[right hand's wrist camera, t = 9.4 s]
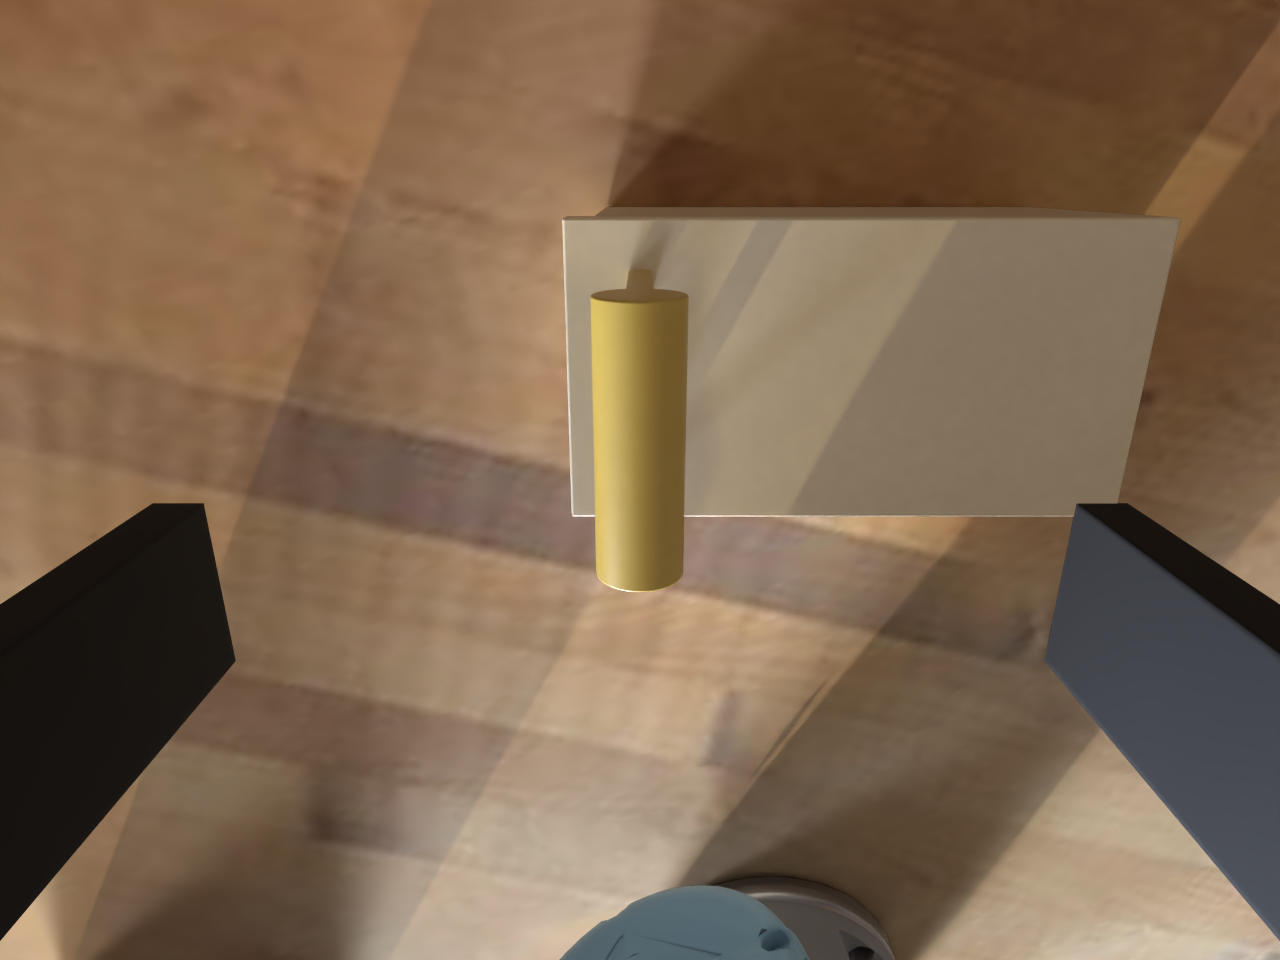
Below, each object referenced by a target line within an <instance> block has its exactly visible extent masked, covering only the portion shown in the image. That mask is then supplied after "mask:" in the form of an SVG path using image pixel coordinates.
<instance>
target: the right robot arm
mask: <svg viewBox="0 0 1280 960" xmlns="http://www.w3.org/2000/svg"><path fill="white" fill-rule="evenodd" d="M235 661H236V660H235V655H234V650H233V645H232V640H231V635H230V631H229V626H228V621H227V616H226V611H225V606H224V601H223V596H222V591H221V586H220V582H219V577H218V572H217V567H216V562H215V557H214V552H213V547H212V542H211V537H210V533H209V528H208V523H207V518H206V513H205V508H204V503H153V504H151V505H150V506H148V507H147V508H145V509H143V510H142V511H140V512H139V513H137V514H136V515H134V516H133V517H131V518H130V519H128V520H127V521H125V522H124V523H122V524H121V525H119V526H118V527H116V528H115V529H113V530H112V531H110V532H109V533H107V534H106V535H104V536H103V537H101V538H100V539H98V540H97V541H95V542H94V543H92V544H91V545H89V546H88V547H86V548H85V549H83V550H82V551H80V552H79V553H77V554H76V555H74V556H73V557H71V558H70V559H68V560H67V561H65V562H64V563H62V564H61V565H59V566H58V567H56V568H55V569H53V570H52V571H50V572H48V573H47V574H45V575H44V576H42V577H41V578H39V579H38V580H36V581H35V582H33V583H32V584H30V585H29V586H27V587H26V588H24V589H23V590H21V591H20V592H18V593H17V594H15V595H14V596H12V597H11V598H9V599H8V600H6V601H5V602H3V603H2V604H0V941H1V939H2V938H3V937H4V936H5V935H6V933H7V932H8V931H9V930H10V929H11V927H12V926H13V925H14V924H15V923H16V921H17V920H18V919H19V918H20V917H21V916H22V914H23V913H24V912H25V911H26V910H27V908H28V907H29V906H30V905H31V904H32V902H33V901H34V900H35V899H36V898H37V897H38V895H39V894H40V893H41V892H42V891H43V889H44V888H45V887H46V886H47V885H48V883H49V882H50V881H51V880H52V879H53V877H54V876H55V875H56V874H57V873H58V872H59V870H60V869H61V868H62V867H63V866H64V864H65V863H66V862H67V861H68V860H69V858H70V857H71V856H72V855H73V854H74V853H75V851H76V850H77V849H78V848H79V847H80V845H81V844H82V843H83V842H84V841H85V839H86V838H87V837H88V836H89V835H90V834H91V832H92V831H93V830H94V829H95V828H96V826H97V825H98V824H99V823H100V822H101V820H102V819H103V818H104V817H105V816H106V814H107V813H108V812H109V811H110V810H111V809H112V807H113V806H114V805H115V804H116V803H117V801H118V800H119V799H120V798H121V797H122V795H123V794H124V793H125V792H126V791H127V790H128V788H129V787H130V786H131V785H132V784H133V782H134V781H135V780H136V779H137V778H138V776H139V775H140V774H141V773H142V772H143V771H144V769H145V768H146V767H147V766H148V765H149V763H150V762H151V761H152V760H153V759H154V757H155V756H156V755H157V754H158V753H159V751H160V750H161V749H162V748H163V747H164V746H165V744H166V743H167V742H168V741H169V740H170V738H171V737H172V736H173V735H174V734H175V732H176V731H177V730H178V729H179V728H180V727H181V725H182V724H183V723H184V722H185V721H186V719H187V718H188V717H189V716H190V715H191V713H192V712H193V711H194V710H195V709H196V707H197V706H198V705H199V704H200V703H201V702H202V700H203V699H204V698H205V697H206V696H207V694H208V693H209V692H210V691H211V690H212V688H213V687H214V686H215V685H216V684H217V683H218V681H219V680H220V679H221V678H222V677H223V675H224V674H225V673H226V672H227V671H228V669H229V668H230V667H231V666H232V665H233V664H234V662H235ZM1044 661H1045V662H1046V664H1047V665H1048V666H1049V667H1050V668H1051V669H1052V671H1053V672H1054V673H1055V674H1056V675H1057V677H1058V678H1059V679H1060V680H1061V681H1062V683H1063V684H1064V685H1065V686H1066V687H1067V688H1068V690H1069V691H1070V692H1071V693H1072V694H1073V696H1074V697H1075V698H1076V699H1077V700H1078V702H1079V703H1080V704H1081V705H1082V706H1083V707H1084V709H1085V710H1086V711H1087V712H1088V713H1089V715H1090V716H1091V717H1092V718H1093V719H1094V721H1095V722H1096V723H1097V724H1098V725H1099V727H1100V728H1101V729H1102V730H1103V731H1104V732H1105V734H1106V735H1107V736H1108V737H1109V738H1110V740H1111V741H1112V742H1113V743H1114V744H1115V746H1116V747H1117V748H1118V749H1119V750H1120V751H1121V753H1122V754H1123V755H1124V756H1125V757H1126V759H1127V760H1128V761H1129V762H1130V763H1131V765H1132V766H1133V767H1134V768H1135V769H1136V771H1137V772H1138V773H1139V774H1140V775H1141V776H1142V778H1143V779H1144V780H1145V781H1146V782H1147V784H1148V785H1149V786H1150V787H1151V788H1152V790H1153V791H1154V792H1155V793H1156V794H1157V795H1158V797H1159V798H1160V799H1161V800H1162V801H1163V803H1164V804H1165V805H1166V806H1167V807H1168V809H1169V810H1170V811H1171V812H1172V813H1173V814H1174V816H1175V817H1176V818H1177V819H1178V820H1179V822H1180V823H1181V824H1182V825H1183V826H1184V828H1185V829H1186V830H1187V831H1188V832H1189V834H1190V835H1191V836H1192V837H1193V838H1194V839H1195V841H1196V842H1197V843H1198V844H1199V845H1200V847H1201V848H1202V849H1203V850H1204V851H1205V853H1206V854H1207V855H1208V856H1209V857H1210V858H1211V860H1212V861H1213V862H1214V863H1215V864H1216V866H1217V867H1218V868H1219V869H1220V870H1221V872H1222V873H1223V874H1224V875H1225V876H1226V877H1227V879H1228V880H1229V881H1230V882H1231V883H1232V885H1233V886H1234V887H1235V888H1236V889H1237V891H1238V892H1239V893H1240V894H1241V895H1242V897H1243V898H1244V899H1245V900H1246V901H1247V902H1248V904H1249V905H1250V906H1251V907H1252V908H1253V910H1254V911H1255V912H1256V913H1257V914H1258V916H1259V917H1260V918H1261V919H1262V920H1263V921H1264V923H1265V924H1266V925H1267V926H1268V927H1269V929H1270V930H1271V931H1272V932H1273V933H1274V935H1275V936H1276V937H1277V938H1278V939H1279V941H1280V604H1278V603H1277V602H1275V601H1274V600H1272V599H1271V598H1269V597H1268V596H1266V595H1265V594H1263V593H1262V592H1260V591H1259V590H1257V589H1256V588H1254V587H1253V586H1251V585H1250V584H1248V583H1247V582H1245V581H1244V580H1242V579H1241V578H1239V577H1238V576H1236V575H1235V574H1233V573H1232V572H1230V571H1228V570H1227V569H1225V568H1224V567H1222V566H1221V565H1219V564H1218V563H1216V562H1215V561H1213V560H1212V559H1210V558H1209V557H1207V556H1206V555H1204V554H1203V553H1201V552H1200V551H1198V550H1197V549H1195V548H1194V547H1192V546H1191V545H1189V544H1188V543H1186V542H1185V541H1183V540H1182V539H1180V538H1179V537H1177V536H1176V535H1174V534H1173V533H1171V532H1170V531H1168V530H1167V529H1165V528H1164V527H1162V526H1161V525H1159V524H1158V523H1156V522H1155V521H1153V520H1152V519H1150V518H1149V517H1147V516H1146V515H1144V514H1143V513H1141V512H1140V511H1138V510H1137V509H1135V508H1133V507H1132V506H1130V505H1129V504H1127V503H1076V508H1075V513H1074V518H1073V523H1072V528H1071V533H1070V537H1069V542H1068V547H1067V552H1066V557H1065V562H1064V567H1063V572H1062V577H1061V582H1060V586H1059V591H1058V596H1057V601H1056V606H1055V611H1054V616H1053V621H1052V626H1051V630H1050V635H1049V640H1048V645H1047V650H1046V655H1045V660H1044Z"/></svg>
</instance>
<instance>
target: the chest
mask: <svg viewBox="0 0 1280 960" xmlns="http://www.w3.org/2000/svg"><path fill="white" fill-rule="evenodd" d="M596 216H1151V215H1136V214H1122V213H1107V212H1093V211H1078V210H1064V209H1049V208H1034V207H607V208H605V209H603V210H602V211H601V212H600V213H598V214H597V215H596Z"/></svg>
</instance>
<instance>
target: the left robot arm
mask: <svg viewBox="0 0 1280 960" xmlns="http://www.w3.org/2000/svg"><path fill="white" fill-rule="evenodd" d="M560 960H895V958H894V955H893V952H892V949H891V946H890V943H889V940H888V938H887V936H886V934H885V932H884V930H883V928H882V927H881V925H880V924H879V922H878V921H877V920H876V919H875V918H874V917H873V915H872V914H871V913H870V912H869V911H867V910H866V909H865V908H864V907H863V906H862V905H860V904H859V903H858V902H856V901H855V900H853V899H852V898H850V897H848V896H847V895H845V894H843V893H841V892H839V891H837V890H835V889H833V888H830V887H827V886H824V885H822V884H818V883H815V882H811V881H806V880H801V879H796V878H787V877H754V878H745V879H739V880H734V881H729V882H725V883H722V884H718V885H715V886H707V885H694V886H684V887H678V888H673V889H668V890H664V891H661V892H658V893H655V894H652V895H650V896H647V897H644V898H642V899H640V900H637V901H635V902H633V903H631V904H630V905H628V906H627V908H625V909H624V910H623V911H622V912H620V913H619V914H618V915H617V916H615V917H613V918H611V919H609V920H605V921H602V922H600V923H599V924H598V925H596V926H595V927H594V928H593V929H591V930H590V931H589V932H588V933H587V934H585V935H584V936H583V937H582V938H581V939H580V940H579V941H578V942H576V943H575V944H574V945H573V946H572V947H571V948H570V949H569V950H568V951H567V952H566V953H565V954H564V955H563V957H562V958H561V959H560Z"/></svg>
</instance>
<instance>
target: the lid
mask: <svg viewBox="0 0 1280 960" xmlns="http://www.w3.org/2000/svg"><path fill="white" fill-rule="evenodd" d="M562 223H563V254H564V286H565V317H566V348H567V379H568V410H569V441H570V473H571V504H572V515H573V516H595V532H596V573H597V576H598V578H599V579H600V580H601V581H602V582H603V583H604V584H606V585H608V586H610V587H612V588H615V589H619V590H623V591H630V592H650V591H656V590H661V589H664V588H667V587H669V586H672V585H673V584H675V583H676V582H678V581H679V580H680V578H681V577H682V574H683V553H684V516H921V517H1074V513H1075V508H1076V503H1118V499H1119V494H1120V490H1121V485H1122V481H1123V476H1124V472H1125V467H1126V463H1127V458H1128V454H1129V449H1130V445H1131V440H1132V436H1133V431H1134V427H1135V422H1136V418H1137V413H1138V409H1139V404H1140V400H1141V396H1142V391H1143V387H1144V382H1145V378H1146V373H1147V369H1148V364H1149V360H1150V355H1151V351H1152V346H1153V342H1154V337H1155V333H1156V328H1157V324H1158V319H1159V315H1160V310H1161V306H1162V301H1163V297H1164V293H1165V288H1166V284H1167V279H1168V275H1169V270H1170V266H1171V261H1172V257H1173V252H1174V248H1175V243H1176V239H1177V234H1178V230H1179V225H1180V218H1178V217H1164V216H567V217H565V218H563V220H562Z"/></svg>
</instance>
